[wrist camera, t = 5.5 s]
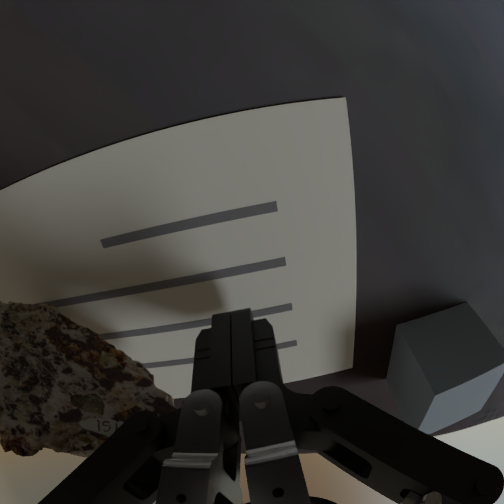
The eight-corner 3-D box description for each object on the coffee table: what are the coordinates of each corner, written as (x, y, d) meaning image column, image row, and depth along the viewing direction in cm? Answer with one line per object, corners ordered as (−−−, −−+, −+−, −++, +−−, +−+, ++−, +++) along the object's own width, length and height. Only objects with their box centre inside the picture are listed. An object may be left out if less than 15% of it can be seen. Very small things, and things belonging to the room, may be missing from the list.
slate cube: (395, 323, 16) (435, 395, 11) (466, 301, 15) (510, 359, 11) (385, 377, 18) (412, 440, 14) (448, 355, 18) (480, 410, 14)
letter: (-44, 213, 10) (-45, 214, 10) (344, 97, 10) (345, 97, 10) (73, 400, 17) (73, 401, 17) (352, 366, 17) (352, 367, 17)
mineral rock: (-1, 303, 13) (-65, 422, 6) (-6, 239, 11) (-103, 371, 4) (176, 375, 16) (163, 517, 9) (205, 325, 14) (196, 505, 7)
